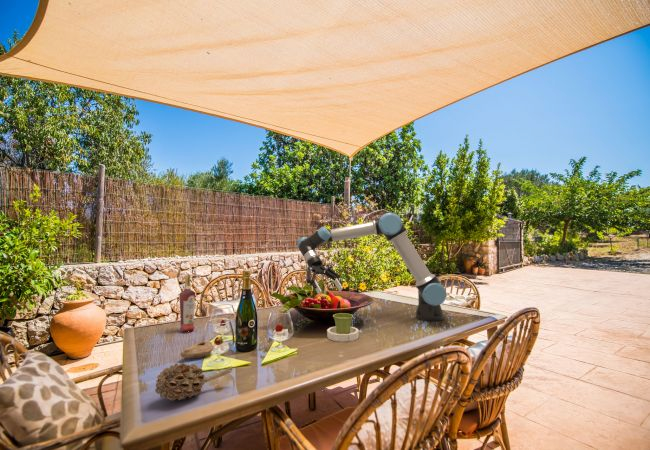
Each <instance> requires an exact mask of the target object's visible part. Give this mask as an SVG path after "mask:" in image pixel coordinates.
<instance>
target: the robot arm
mask: <svg viewBox="0 0 650 450" xmlns="http://www.w3.org/2000/svg"><path fill="white" fill-rule="evenodd" d="M407 232H408V230H407V228H406V227H405V225H404V224H403V221H402V218H401V216H399V215H398V214H396V213H395V212H386V213H384V214H383V215H381V216H380V217H377V218H374V219H373V220H372V221H368V222H362V223H358V224H357V223H356V224H353V225H347V226H346V225H345V226H342V227H341V226H340V227H337V228H336V227H335V228H332V229H327V227H326V226H321V227H319V228H318V229H317V230H316V231H315V232H314V233H312V234H311V235H310V236H309V237H307V236H303V237H300V238H299V239H298V240H297V241H296V246H297V248H298V250H299V251H300V253H301V255H302V257H303V259H304V261H305V262H306V264H307V267H306V269H305V271H306V284H308V285H310V286H312V287H313V289H314V290H315V291H316V293H317V295H318V296H319V295H321V293H322V289H321V287H320V286H319V284H318V282H317V280H316V277H317V276H319V275H324V276H326V277H328V278H330V280H332V281H333V283H334V285H335V286H336V288H337V290H338V292H342V290H343V289H344V287H343V286H342V284H341V281H340V280H339V279H340V278H341V275H339V273H337V272H336V271H335V270H334V269H332V267H330V266H329V264H326V265H324V264H323V260H322V259H321V257H320V256H319V255H318V253H317V251H316V249H318V247H320V246H321V245H322V244H328V243H334V242H338V241H344V240H350V239H356V238H360V237H367V236H372V235H375V236H381V235H382V236H384V238H385V239H386V240H387V242H389V243H391V244H393V246H394V248H395V250H396V251H397V253H398V255H399V256H400V258H401V260H402V261H403V263H404V264H405V265H406V267H407V270H408V271H409V272H410V274H411V276H412V277H413V278H414V280H415V288H416V289H417V290H418V291H417V293H418V294H417V297H418V304H417V307H416V311H415V318H416V319H418V320H421V321H426V322H427V321H428V322H439V321H443V320H444V317H445V316H444V315H445V314H444V313H443V310H442V306H441V305H442V304H443V303H444V302H445V300H447V299H446V298H447V290H446V288H445V286H444V285H442V283H441V282H440V278H439V277H438V276H436V274H433V273H431V272H430V270H429V268H428V267H427V266H426V263H425V262H424V260H423V259H422V257H421V256H420V255H419V253H418V252H417V249H416V248H415V246H414V244H413V243H412V241H411V239H409V237H408V235H407ZM312 273H313V274H312Z"/></svg>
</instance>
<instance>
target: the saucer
mask: <svg viewBox="0 0 650 450" xmlns="http://www.w3.org/2000/svg"><path fill="white" fill-rule="evenodd" d="M326 336H327V339H328V340H330V341H333V342H339V343H341V342H342V343H347V342H354V341H356V340H358V339H359V337H360V330H359V329H358V328H357V327H354V326H351V328H350V334H337V333H336V325H335V326H331V327H330V326H329V328H327V329H326Z"/></svg>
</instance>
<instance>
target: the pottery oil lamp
mask: <svg viewBox="0 0 650 450" xmlns="http://www.w3.org/2000/svg"><path fill="white" fill-rule="evenodd" d="M214 349H215V346H214V345H213V342H212V341H205V340H202V341H201V340H200V341H198V342H196V343H194V344H193V345H191V346H189V347H187V348H185V349H183V350H181V352H180V357H182V358H183V359H191V358H195V359H201V358H205V357H206V356H207V355H209V354H210V353H212V351H214ZM205 355H206V356H205ZM204 356H205V357H204Z"/></svg>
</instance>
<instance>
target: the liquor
mask: <svg viewBox="0 0 650 450" xmlns="http://www.w3.org/2000/svg"><path fill="white" fill-rule="evenodd" d="M195 304H196V292H195V291H194V290H192V289H191V274H184V290H182V291H181V292H180V293H179V313H180V314H179V317H180V327H179V330H180V331H181V333H183V332H188V331H191V332H193V331H194V329H195V309H196V308H195ZM188 333H189V332H188Z"/></svg>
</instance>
